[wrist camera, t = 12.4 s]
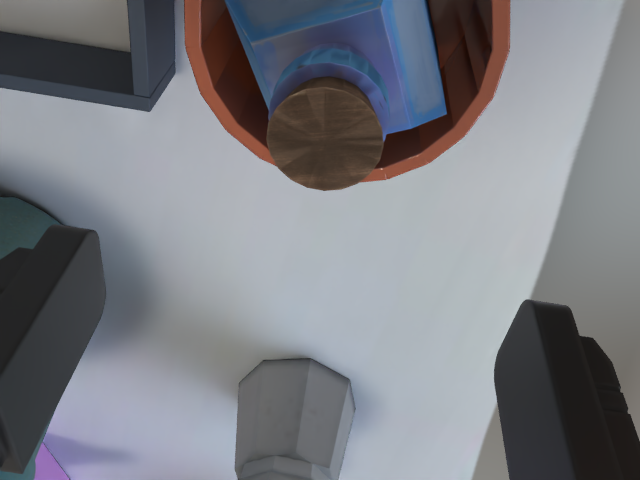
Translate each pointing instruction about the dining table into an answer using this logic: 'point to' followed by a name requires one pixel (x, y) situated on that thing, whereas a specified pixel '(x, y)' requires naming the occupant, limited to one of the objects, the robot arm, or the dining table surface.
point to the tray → (98, 62)
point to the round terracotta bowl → (399, 147)
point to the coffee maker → (292, 422)
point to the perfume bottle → (339, 80)
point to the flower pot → (4, 237)
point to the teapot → (48, 466)
